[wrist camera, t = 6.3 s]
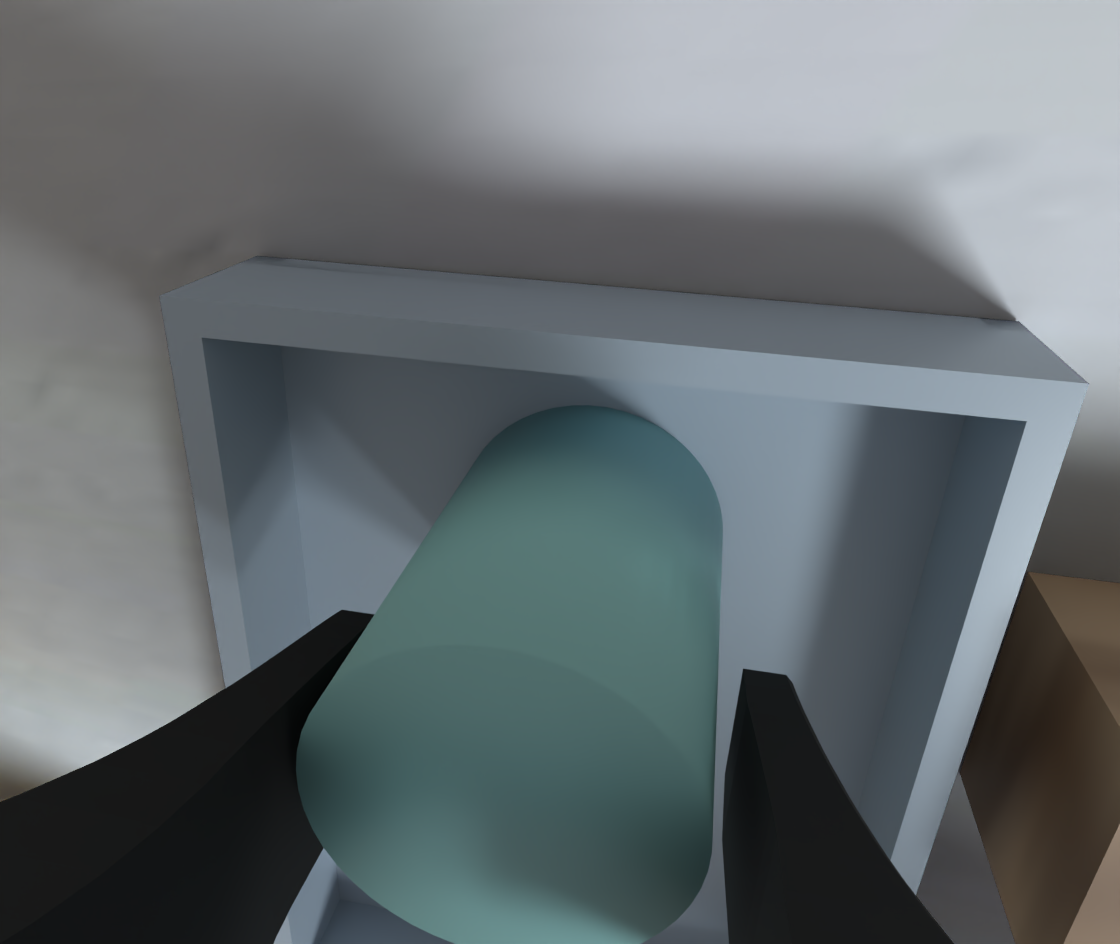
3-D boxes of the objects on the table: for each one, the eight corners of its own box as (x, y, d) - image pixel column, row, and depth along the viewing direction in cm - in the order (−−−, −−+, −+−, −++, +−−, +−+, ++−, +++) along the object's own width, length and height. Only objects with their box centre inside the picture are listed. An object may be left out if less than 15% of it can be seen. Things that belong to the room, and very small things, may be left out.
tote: (825, 988, 21) (839, 1120, 19) (329, 890, 23) (277, 998, 20) (1018, 321, 14) (1089, 383, 11) (257, 256, 16) (159, 295, 13)
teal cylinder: (762, 453, 15) (779, 736, 9) (674, 665, 17) (638, 1008, 11) (492, 369, 15) (320, 585, 9) (442, 589, 17) (279, 881, 11)
